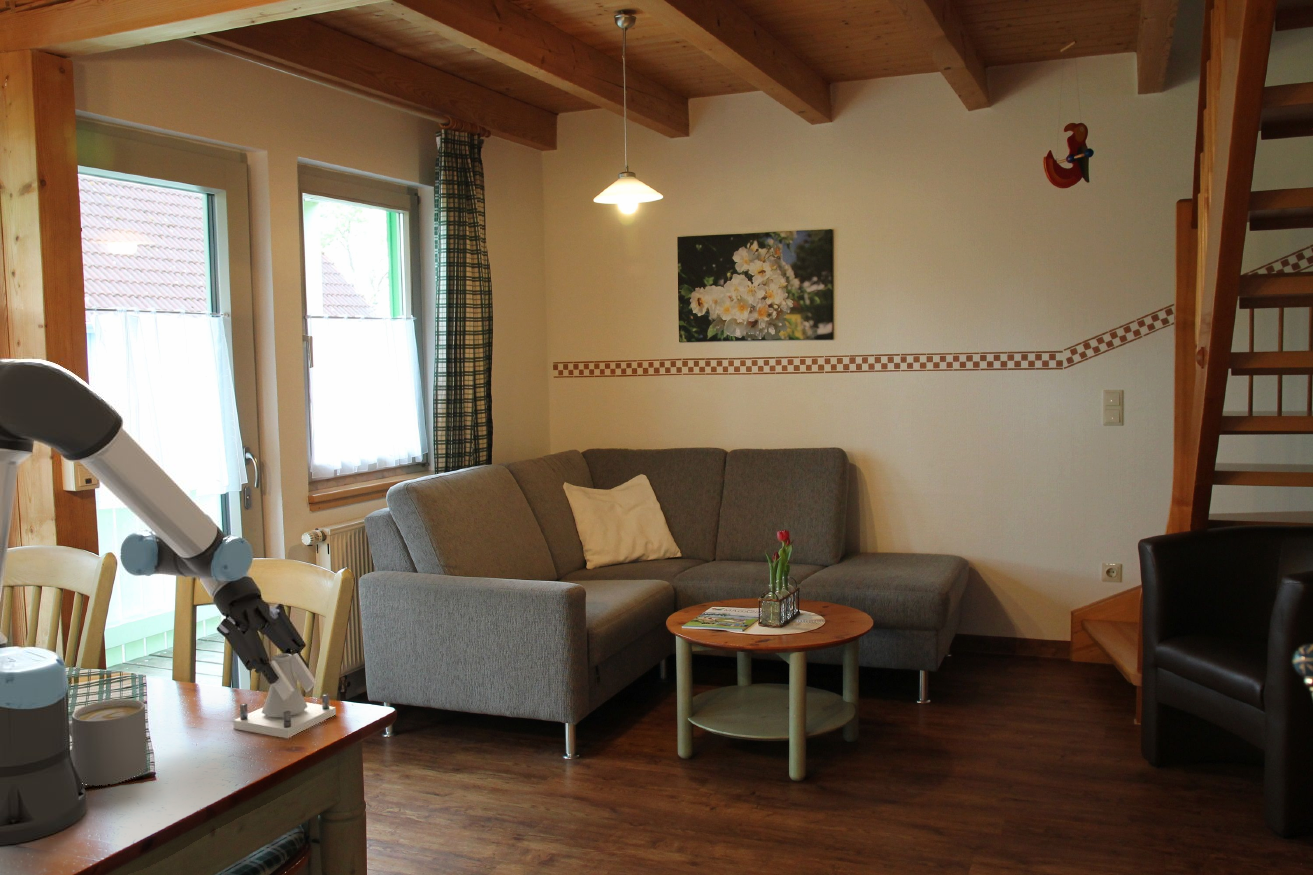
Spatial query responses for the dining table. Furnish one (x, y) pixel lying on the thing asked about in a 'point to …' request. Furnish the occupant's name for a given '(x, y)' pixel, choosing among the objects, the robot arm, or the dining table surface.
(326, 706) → the pegs
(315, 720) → the plate
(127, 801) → the dining table surface
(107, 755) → the coffee mug
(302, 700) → the flask
